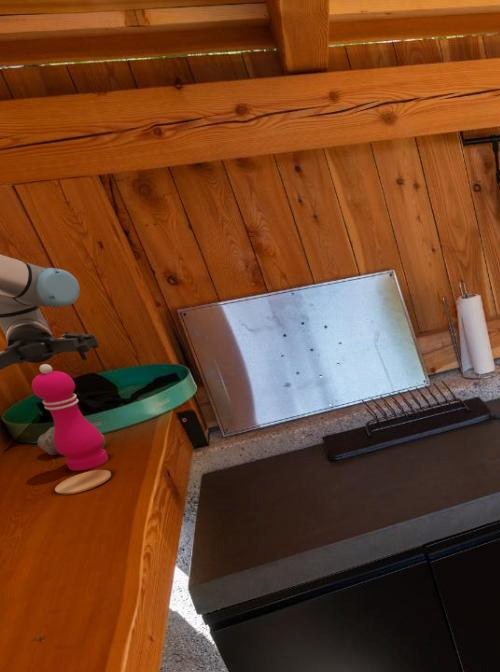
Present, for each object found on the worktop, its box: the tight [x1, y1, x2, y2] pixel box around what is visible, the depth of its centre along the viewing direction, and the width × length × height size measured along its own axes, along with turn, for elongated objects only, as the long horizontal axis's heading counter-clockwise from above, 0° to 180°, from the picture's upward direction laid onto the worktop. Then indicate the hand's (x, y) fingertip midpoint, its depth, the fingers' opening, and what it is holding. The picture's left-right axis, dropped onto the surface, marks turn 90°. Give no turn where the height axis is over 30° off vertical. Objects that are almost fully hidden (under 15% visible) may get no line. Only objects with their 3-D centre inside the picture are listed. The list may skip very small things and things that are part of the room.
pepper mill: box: [31, 363, 109, 472], centre depth 140 cm, size 7×7×20 cm
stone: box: [37, 425, 106, 456], centre depth 149 cm, size 10×5×8 cm
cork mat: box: [54, 469, 112, 496], centre depth 138 cm, size 8×8×1 cm
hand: (38, 364), depth 143 cm, fingers open, 13 cm apart
